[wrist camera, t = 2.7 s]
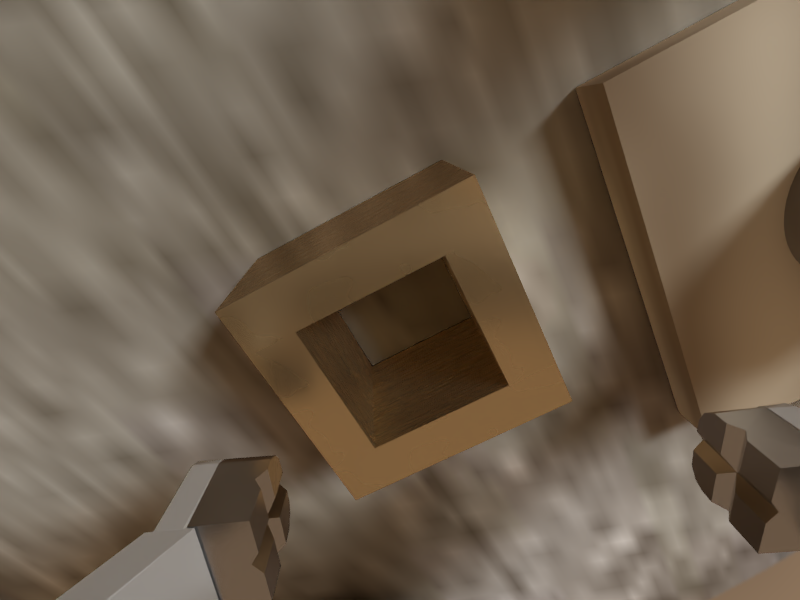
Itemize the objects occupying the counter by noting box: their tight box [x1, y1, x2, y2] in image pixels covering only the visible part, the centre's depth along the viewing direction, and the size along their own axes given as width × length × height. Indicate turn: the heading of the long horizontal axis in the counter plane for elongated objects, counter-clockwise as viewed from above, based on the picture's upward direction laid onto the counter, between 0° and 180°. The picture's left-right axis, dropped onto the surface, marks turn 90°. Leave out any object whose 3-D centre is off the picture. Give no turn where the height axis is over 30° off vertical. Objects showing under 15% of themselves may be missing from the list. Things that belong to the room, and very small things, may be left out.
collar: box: [215, 160, 572, 500], centre depth 12 cm, size 6×6×4 cm
